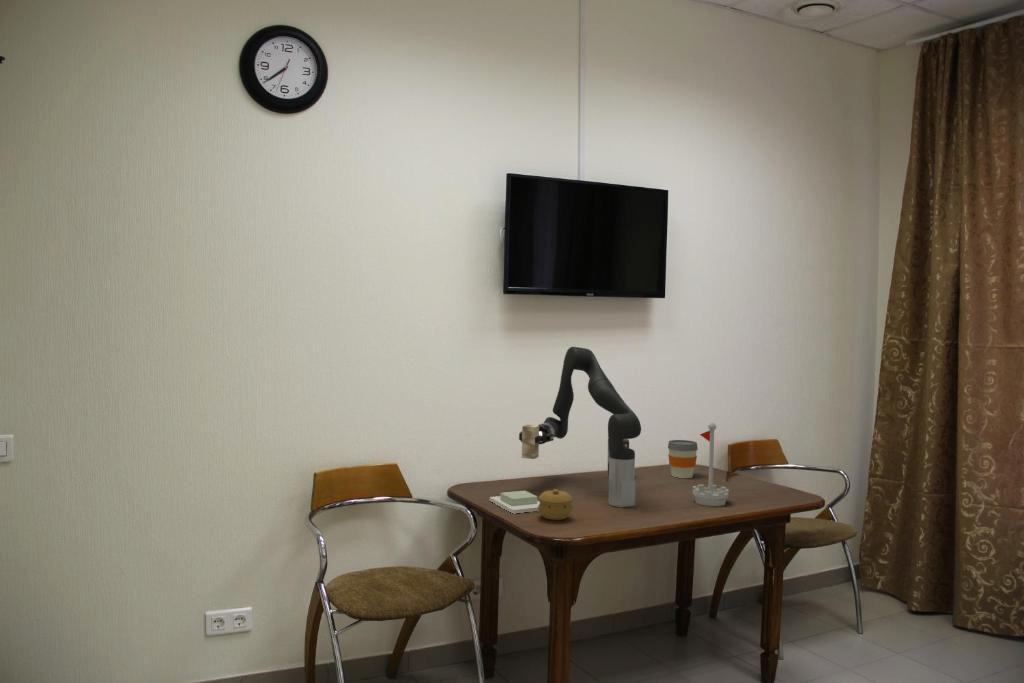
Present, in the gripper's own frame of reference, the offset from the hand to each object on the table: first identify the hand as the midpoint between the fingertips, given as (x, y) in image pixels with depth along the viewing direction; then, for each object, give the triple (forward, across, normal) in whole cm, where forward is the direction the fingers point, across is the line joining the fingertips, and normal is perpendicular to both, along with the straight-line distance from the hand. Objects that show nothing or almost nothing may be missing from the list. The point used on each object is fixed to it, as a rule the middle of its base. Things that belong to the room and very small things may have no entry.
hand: (528, 439), depth 290 cm
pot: (+25, +19, +22) cm, 38 cm away
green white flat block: (+14, +1, +22) cm, 26 cm away
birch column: (-2, 0, +7) cm, 7 cm away
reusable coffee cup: (-63, +49, +22) cm, 83 cm away
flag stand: (-21, +65, +22) cm, 72 cm away
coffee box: (-50, +23, +22) cm, 59 cm away
